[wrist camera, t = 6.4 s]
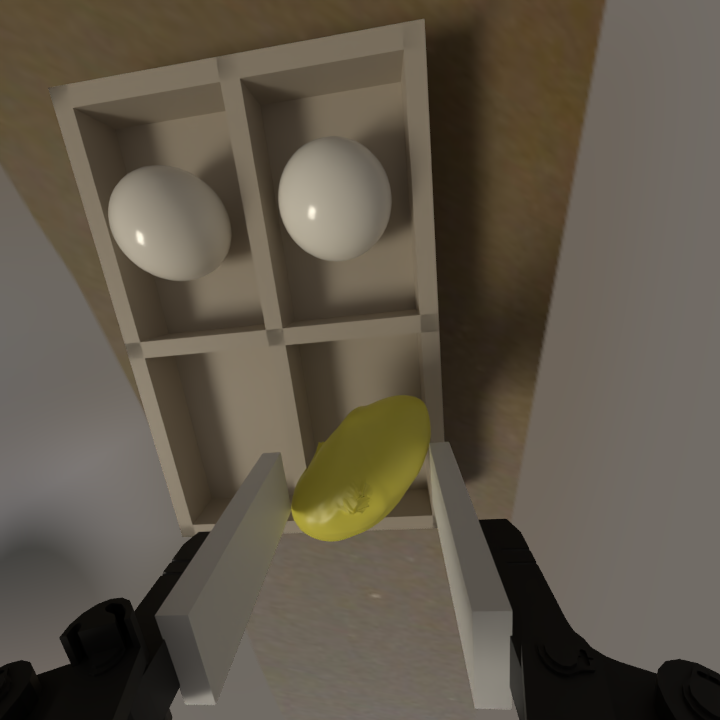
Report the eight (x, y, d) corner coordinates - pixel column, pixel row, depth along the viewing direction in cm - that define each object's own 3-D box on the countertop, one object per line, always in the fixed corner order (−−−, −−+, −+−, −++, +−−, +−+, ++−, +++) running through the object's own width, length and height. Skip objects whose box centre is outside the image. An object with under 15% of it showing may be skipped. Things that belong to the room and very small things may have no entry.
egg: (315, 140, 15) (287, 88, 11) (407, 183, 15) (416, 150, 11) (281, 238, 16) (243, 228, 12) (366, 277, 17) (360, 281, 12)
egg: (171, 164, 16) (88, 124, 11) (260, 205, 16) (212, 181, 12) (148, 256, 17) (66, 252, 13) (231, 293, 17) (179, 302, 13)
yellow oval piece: (279, 473, 17) (248, 532, 13) (388, 360, 15) (390, 389, 11) (342, 523, 17) (330, 594, 13) (455, 419, 15) (479, 468, 11)
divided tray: (104, 118, 16) (48, 87, 13) (417, 64, 15) (424, 18, 12) (207, 503, 22) (182, 537, 19) (440, 493, 20) (448, 527, 18)
